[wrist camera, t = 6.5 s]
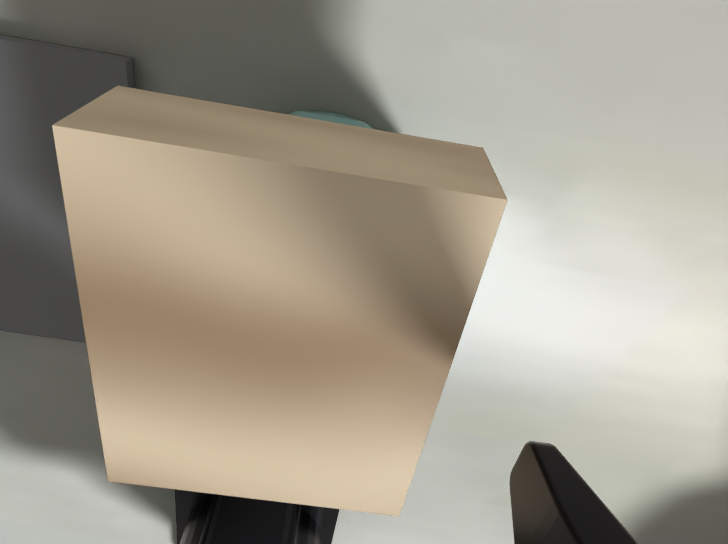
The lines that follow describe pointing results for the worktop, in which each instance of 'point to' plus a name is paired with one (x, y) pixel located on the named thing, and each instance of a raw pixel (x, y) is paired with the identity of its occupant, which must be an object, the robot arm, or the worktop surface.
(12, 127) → the mat
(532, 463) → the robot arm
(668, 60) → the worktop surface
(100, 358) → the board
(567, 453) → the worktop surface
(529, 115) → the worktop surface
